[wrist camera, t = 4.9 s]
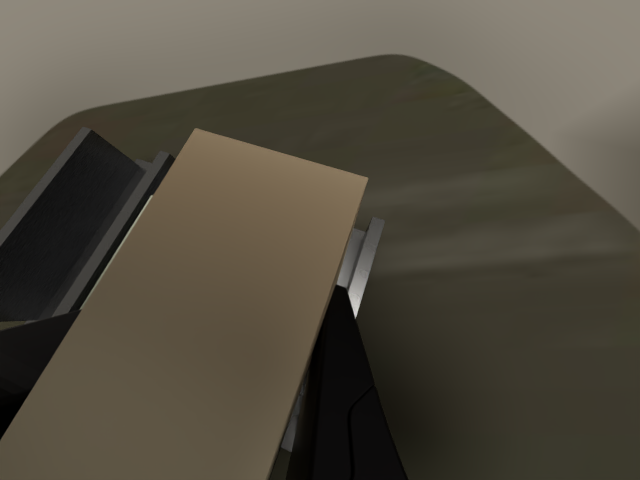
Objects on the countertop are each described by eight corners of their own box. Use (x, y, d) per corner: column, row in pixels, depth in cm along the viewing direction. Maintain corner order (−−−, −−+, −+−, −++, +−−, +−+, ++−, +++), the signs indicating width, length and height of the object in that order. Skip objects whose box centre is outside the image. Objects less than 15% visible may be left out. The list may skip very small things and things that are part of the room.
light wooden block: (307, 372, 12) (158, 793, 2) (264, 353, 12) (-100, 601, 2) (337, 281, 13) (367, 177, 3) (297, 267, 14) (194, 127, 3)
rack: (306, 446, 12) (294, 523, 8) (44, 324, 14) (-79, 330, 10) (371, 239, 15) (387, 211, 11) (147, 166, 17) (88, 120, 13)
